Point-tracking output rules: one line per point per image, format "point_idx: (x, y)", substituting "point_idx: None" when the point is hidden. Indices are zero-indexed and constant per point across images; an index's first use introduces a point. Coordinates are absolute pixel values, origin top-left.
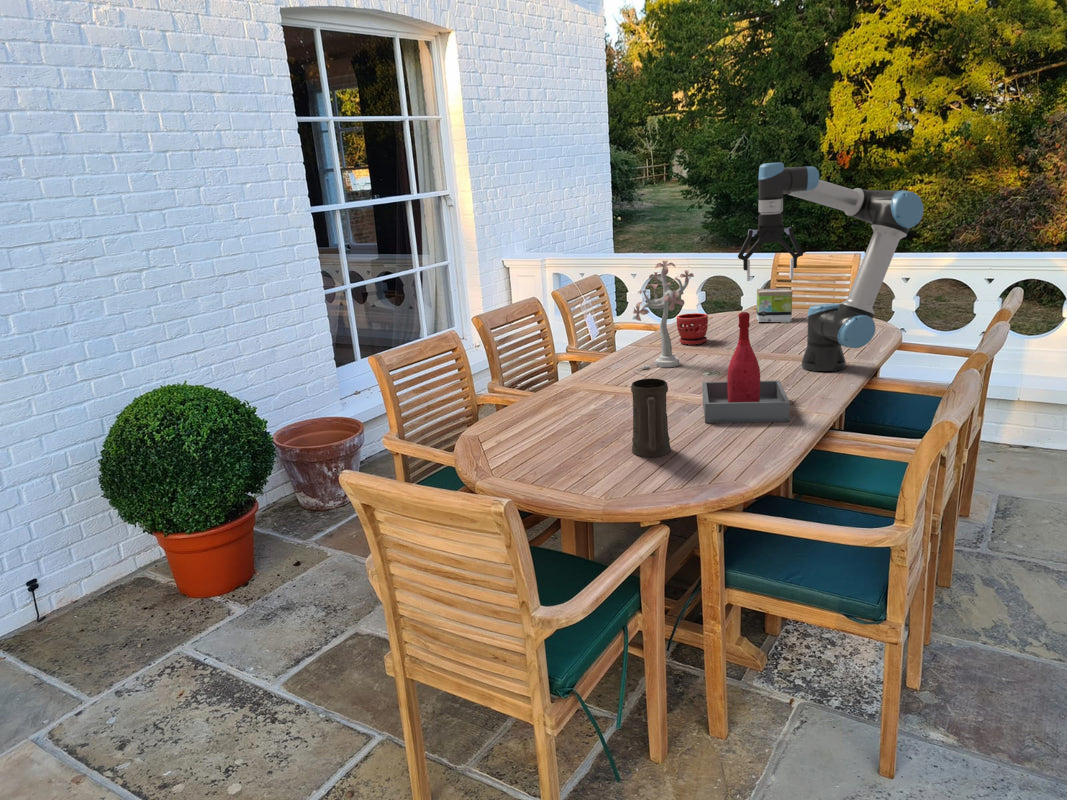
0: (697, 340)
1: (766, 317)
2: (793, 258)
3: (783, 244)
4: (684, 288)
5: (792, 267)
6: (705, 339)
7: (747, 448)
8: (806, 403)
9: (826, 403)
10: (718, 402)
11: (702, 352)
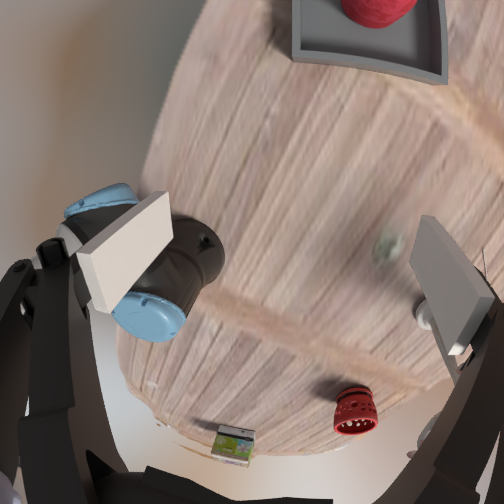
0: (352, 393)
1: (245, 434)
2: (79, 268)
3: (58, 385)
4: (428, 426)
5: (121, 220)
6: (341, 394)
7: None
8: (249, 29)
9: (214, 30)
10: (411, 41)
11: (360, 359)
